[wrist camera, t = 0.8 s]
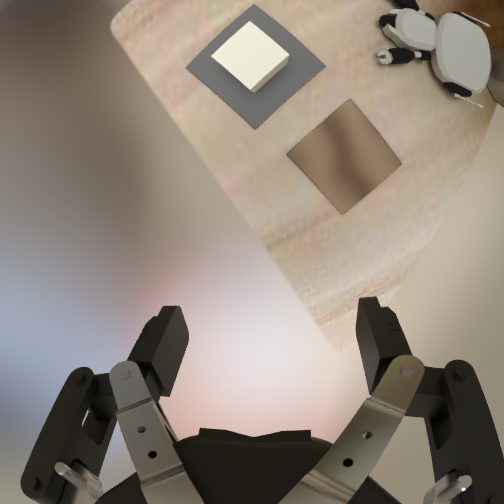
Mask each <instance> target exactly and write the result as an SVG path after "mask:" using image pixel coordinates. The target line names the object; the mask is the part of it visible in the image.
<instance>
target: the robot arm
mask: <svg viewBox="0 0 504 504" xmlns="http://www.w3.org/2000/svg"><path fill="white" fill-rule="evenodd" d="M490 54H491V71H490V75H489V79H488V82H487V86H488V88H489V90H490V92H491V94H492V96H493V97H494V99H495V100H496V101H497V102H498V104H500V105H501V106H502V107H504V47H500V48H493V49H491V50H490ZM356 337H357V341H358V345H359V349H360V354H361V358H362V362H363V367H364V371H365V376H366V380H367V385H368V389H369V395H371V397H370V398H367V399H366V400H365V401H364V402H363V404H362V405H361V407H360V408H359V410H358V411H357V413H356V414H355V415H354V417H353V418H352V420H351V421H350V423H349V424H348V425H347V427H346V428H345V429H344V431H343V432H342V433H341V435H340V436H339V437H338V439H337V440H336V441H335V443H334V444H332V443H330V442H328V441H326V440H323V439H319V438H315V437H311V430H297V431H280V432H276V433H272V434H267V435H262V436H258V437H250V436H247V435H243V434H239V433H235V432H232V431H228V430H220V429H219V430H218V429H206V428H200V430H199V434H198V435H195V436H190V437H187V438H184V439H182V440H180V441H179V440H178V438H177V436H176V435H175V433H174V431H173V429H172V427H171V425H170V423H169V421H168V420H167V417H166V415H165V413H164V411H163V409H162V407H161V405H160V403H159V399H160V396H166V397H170V394H171V391H172V388H173V385H174V382H175V379H176V377H177V374H178V371H179V368H180V365H181V362H182V359H183V356H184V353H185V351H186V348H187V345H188V341H189V332H188V328H187V325H186V322H185V319H184V316H183V313H182V310H181V308H180V306H163V307H162V309H161V311H160V312H159V315H158V316H154V317H152V318H151V319H150V320H149V321H148V322H147V323H146V325H145V327H144V328H143V330H142V333H141V334H140V336H139V339H138V340H137V341H136V343H135V345H134V347H133V349H132V351H131V353H130V355H129V357H128V359H127V361H123V362H120V363H118V364H116V365H115V366H114V367H113V368H112V369H111V371H110V373H104V374H97V375H94V373H93V371H92V370H91V369H90V368H88V367H80V368H77V369H75V370H74V371H73V372H71V374H70V375H69V376H68V379H67V380H66V382H65V384H64V386H63V388H62V390H61V391H60V394H59V395H58V397H57V399H56V401H55V403H54V405H53V407H52V409H51V411H50V413H49V415H48V417H47V420H46V422H45V424H44V426H43V428H42V430H41V432H40V435H39V437H38V439H37V441H36V443H35V446H34V448H33V450H32V453H31V455H30V457H29V460H28V462H27V465H26V467H25V470H24V472H23V475H22V478H21V488H22V491H23V492H24V494H25V495H26V496H28V497H29V498H31V499H32V500H34V501H36V502H38V503H39V504H401V503H400V502H399V501H398V500H396V499H395V498H394V497H393V496H392V495H391V494H389V493H388V492H387V491H386V490H385V489H384V488H382V487H381V486H380V485H379V484H378V483H377V482H376V481H374V480H373V479H372V478H371V477H370V476H369V473H370V472H371V470H372V469H373V467H374V466H375V464H376V463H377V461H378V460H379V458H380V456H381V455H382V453H383V452H384V450H385V448H386V447H387V445H388V443H389V442H390V440H391V438H392V437H393V435H394V433H395V431H396V429H397V428H398V426H399V424H400V422H401V420H402V419H403V417H404V416H412V417H422V418H424V420H425V424H426V430H427V434H428V440H429V445H430V451H431V457H432V463H433V470H434V477H435V484H434V485H433V486H432V487H431V488H430V489H429V490H428V491H427V492H426V494H425V496H424V499H423V504H504V458H503V453H502V449H501V446H500V442H499V439H498V435H497V432H496V429H495V425H494V422H493V419H492V416H491V413H490V410H489V407H488V404H487V402H486V399H485V396H484V393H483V391H482V389H481V386H480V383H479V381H478V378H477V376H476V373H475V371H474V369H473V367H472V366H471V365H470V364H469V363H467V362H466V361H463V360H453V361H450V362H449V363H448V364H447V365H446V366H445V368H444V369H443V368H432V367H426V366H424V365H423V363H422V362H421V361H420V360H419V359H418V358H417V357H414V356H413V355H412V353H411V350H410V348H409V345H408V343H407V340H406V338H405V335H404V333H403V331H402V328H401V326H400V324H399V321H398V318H397V316H396V314H395V313H394V312H393V311H392V310H391V309H390V308H389V307H381V306H380V304H379V301H378V299H377V297H376V296H375V297H364V298H359V302H358V312H357V320H356ZM87 410H88V411H89V413H88V415H87V417H86V420H85V422H84V424H83V427H82V422H83V419H84V417H85V414H86V412H87ZM117 420H118V422H119V426H120V429H121V432H122V435H123V437H124V440H125V443H126V446H127V449H128V451H129V454H130V456H131V459H132V462H133V464H134V467H135V469H136V471H137V472H135V473H134V474H132V475H131V476H130V477H128V478H127V479H125V480H124V481H122V482H121V483H119V484H118V485H116V486H115V487H113V488H112V489H110V490H109V491H107V492H106V493H104V494H103V491H102V484H101V481H100V480H99V479H98V477H99V474H100V470H101V467H102V464H103V461H104V458H105V455H106V452H107V449H108V446H109V443H110V440H111V437H112V434H113V431H114V428H115V425H116V422H117Z"/></svg>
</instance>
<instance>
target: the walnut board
mask: <svg viewBox="0 0 504 504" xmlns="http://www.w3.org/2000/svg"><path fill="white" fill-rule="evenodd" d="M286 155H287V156H288V157H289V158H290V159H291V160H292V161H293V162H294V163H295V164H296V165H297V166H298V167H299V168H300V170H301V171H302V172H303V173H304V174H305V175H306V176H307V177H308V178H309V179H310V180H311V181H312V182H313V183H314V184H315V186H316V187H317V188H318V189H319V190H320V191H321V192H322V193H323V194H324V195H325V197H326V198H327V199H328V200H329V201H330V202H331V203H332V204H333V206H334V207H335V208H336V209H337V210H338V211H339V212H340V214H341V215H343V214H345V213H346V212H347V211H348V210H349V209H351V208H352V207H353V206H354V205H355V204H357V203H358V202H359V201H360V200H361V199H363V198H364V197H365V196H366V195H367V194H368V193H370V192H371V191H372V190H373V189H374V188H375V187H377V186H378V185H379V184H380V183H381V182H383V181H384V180H385V179H386V178H387V177H388V176H389V175H391V174H392V173H393V172H394V171H395V170H396V169H398V168H399V167H400V166H401V165H402V163H401V162H400V160H399V159H398V158H397V156H396V155H395V153H394V152H393V151H392V149H391V148H390V147H389V145H388V144H387V143H386V141H385V140H384V139H383V137H382V136H381V135H380V134H379V132H378V131H377V130H376V128H375V127H374V126H373V125H372V123H371V122H370V121H369V120H368V119H367V117H366V116H365V115H364V114H363V113H362V111H361V110H360V109H359V108H358V107H357V106H356V104H355V103H354V102H353V101H352V100H351V99H349V100H347V101H346V102H345V103H344V104H343V105H342V106H340V107H339V108H338V109H337V110H336V111H335V112H333V113H332V114H331V115H330V116H329V117H328V118H326V119H325V120H324V121H323V122H322V123H321V124H320V125H318V126H317V127H316V128H315V129H314V130H313V131H312V132H311V133H309V134H308V135H307V136H306V137H305V138H304V139H303V140H302V141H300V142H299V143H298V144H297V145H296V146H295V147H294V148H293V149H292V150H290V151H289V152H288V153H287V154H286Z"/></svg>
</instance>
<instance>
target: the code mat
mask: <svg viewBox="0 0 504 504" xmlns="http://www.w3.org/2000/svg"><path fill="white" fill-rule="evenodd" d="M249 21H250V22H252V23H253V24H254V25H255V26H257V27H258V28H259V29H260V30H262V31H263V32H264V33H265V34H266V35H268V36H269V37H270V38H271V39H272V40H274V41H275V42H276V43H277V44H278V45H279V46H280V47H282V48H283V49H284V50H285V51H286V52H287V53H288V54H289V58H288V62H287V64H286V65H285V66H284V67H283V68H282V69H281V70H280V71H278V72H277V73H276V74H275V75H274V76H273V77H272V78H271V79H269V80H268V81H267V82H266V83H265V84H264V85H263V86H262V87H261V88H260V89H259V90H258V91H256V92H255V93H254V92H252V91H251V90H249V89H248V88H247V87H246V86H245V85H244V84H243V83H242V82H241V81H239V80H238V79H237V78H236V77H235V76H234V75H233V74H231V73H230V72H229V71H228V70H227V69H226V68H224V67H223V66H222V65H221V64H220V63H219V62H217V61H216V60H215V59H214V58H213V57H211V56H212V55H213V54H214V53H215V52H216V51H217V50H218V49H219V48H220V47H221V46H222V45H223V44H224V43H225V42H226V41H227V40H228V39H229V38H231V37H232V36H233V35H234V34H235V33H236V32H237V31H238V30H239V29H241V28H242V27H243V26H244V25H245V24H246V23H248V22H249ZM324 67H326V66H325V65H324V64H323V63H322V62H321V61H320V60H319V59H318V58H317V57H316V56H315V55H314V54H313V53H311V52H310V51H309V50H308V49H307V48H306V47H305V46H304V45H303V44H302V43H301V42H300V41H299V40H297V39H296V38H295V37H294V36H293V35H292V34H291V33H289V32H288V31H287V30H286V29H285V28H284V27H282V26H281V25H280V24H279V23H278V22H276V21H275V20H274V19H273V18H272V17H270V16H269V15H268V14H266V13H265V12H264V11H263V10H261V9H260V8H259V7H257V6H256V5H255V4H253V5H252V6H251V7H250V8H248V9H247V10H246V11H245V12H244V13H242V14H241V15H240V16H239V17H238V18H237V19H235V20H234V21H233V22H232V23H231V24H230V25H229V26H228V27H226V28H225V29H224V30H223V31H222V32H221V33H220V34H219V35H218V36H217V37H216V38H215V39H214V40H212V41H211V42H210V43H209V44H208V45H207V46H206V47H205V48H204V49H203V50H202V51H201V52H200V53H199V54H198V55H197V56H196V57H195V58H194V59H193V60H192V61H191V62H190V64H189V65H188V66H187V67H186V69H187V70H188V71H190V72H191V73H192V74H193V75H194V76H196V77H197V78H198V79H199V80H200V81H202V82H203V83H204V84H205V85H206V86H207V87H208V88H210V89H211V90H212V91H213V92H214V93H215V94H216V95H218V96H219V97H220V98H221V99H222V100H223V101H224V102H225V103H227V104H228V105H229V106H230V107H231V108H232V109H233V110H234V111H235V112H236V113H238V114H239V115H240V116H241V117H242V118H243V119H244V120H245V121H246V122H247V123H248V124H249V125H250V126H251V127H252V128H253V129H256V128H257V127H258V126H259V125H260V124H261V123H262V122H263V121H265V120H266V119H267V118H268V117H269V116H270V115H271V114H272V113H273V112H274V111H275V110H276V109H277V108H279V107H280V106H281V105H282V104H283V103H284V102H285V101H286V100H287V99H289V98H290V97H291V96H292V95H293V94H294V93H295V92H296V91H298V90H299V89H300V88H301V87H302V86H303V85H304V84H306V83H307V82H308V81H309V80H310V79H311V78H313V77H314V76H315V75H316V74H317V73H318V72H320V71H321V70H322V69H323V68H324Z"/></svg>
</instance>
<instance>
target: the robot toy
mask: <svg viewBox="0 0 504 504" xmlns="http://www.w3.org/2000/svg"><path fill="white" fill-rule="evenodd" d="M393 1H394V2H395V3H396V4H398V5H399V6H400V7H402V8H403V9H392V10H391V11H390V12H389V13H388V14H387V15H383V16H381V17H380V19H379V22H380V24H381V25H382V26H383V28H382V29H383V32H384V34H385V35H386V36H387V37H389V38H390V39H392V40H393V41H394V42H395V44H396V45H398V46H399V47H400V48H391V49H389V50H388V51H386V50H383V49H382V50H379V51H378V52H377V57H378V56H384V59H378V60H379V62H380V63H381V64H386V65H388V64H389V63H392V64H401V63H408V62H410V61H411V60H413V59H414V58H420V59H421V60H431V64H432V68H433V70H434V72H435V75H436V76H437V77H438V78H439V79H440V80H441V81H442V82H443V85H444V87H445V88H447V89H448V90H449V91H450V92H451V93H453V94H454V97H457V98H461V99H463V100H466V101H468V102H470V103H473V104H475V105H477V106H478V107H480V108H484V107H483V106H482V105H480V104H477V103H475V102H473V101H470V100H468V99H466V98H463V97H470V96H471V95H472V94H476V93H480V92H482V91H483V90H484V88H485V87H486V84H487V82H488V79H489V75H490V71H491V54H490V48H489V43H488V40H487V38H486V36H485V33H484V32H483V30H482V29H481V28H480V27H479V26H477V23H476V22H475V21H477V22H479V23H482V24H484V25H485V26H487V27H490V26H489V24H487V23H484V22H482V21H479V20H477V19H475V18H473V17H470V16H468V15H466V13H463V12H461V13H460V12H455V11H454V12H452V13H446V14H444V15H442V16H441V17H439V18H438V19H437V20H436V21H435V22H434V19H435V18H434V17H433V16H431V15H430V14H429V13H424V12H423V11H421V10H420V9H419V7H418V5H417V3H416V1H415V0H393ZM472 19H473V20H475V21H473V20H472Z"/></svg>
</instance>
